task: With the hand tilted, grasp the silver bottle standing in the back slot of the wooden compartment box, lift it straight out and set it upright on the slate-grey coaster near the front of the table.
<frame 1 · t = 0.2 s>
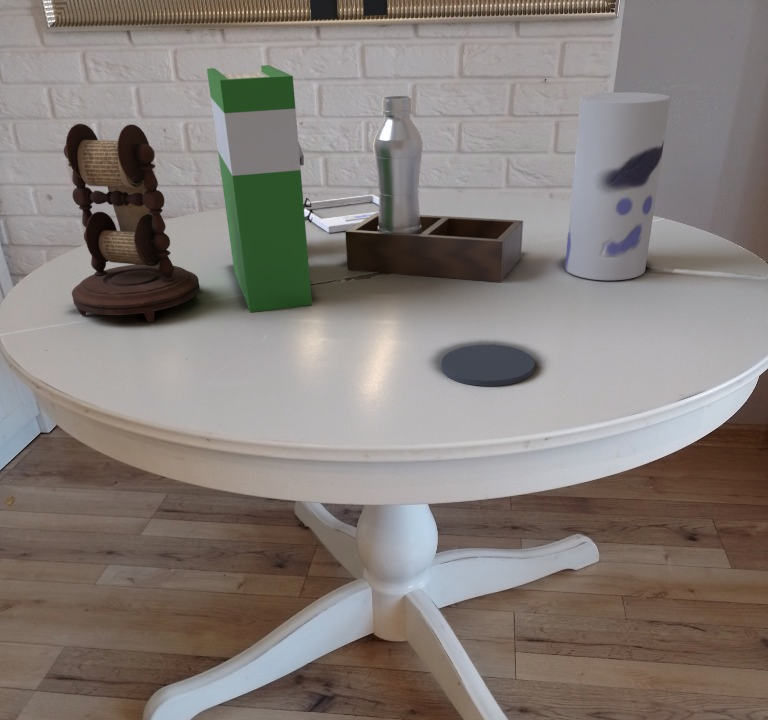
hand: (351, 17, 86), 29 cm above the table, tool pointing down, fingers open, 13 cm apart
wooden compartment box: (434, 264, 107), on the table
silver bottle: (400, 262, 109), resting in wooden compartment box
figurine: (277, 253, 115), on the table
scroll: (140, 307, 96), on the table
photo frame: (352, 216, 132), on the table
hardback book: (270, 288, 101), on the table
container: (604, 271, 102), on the table
coaster: (487, 367, 77), on the table
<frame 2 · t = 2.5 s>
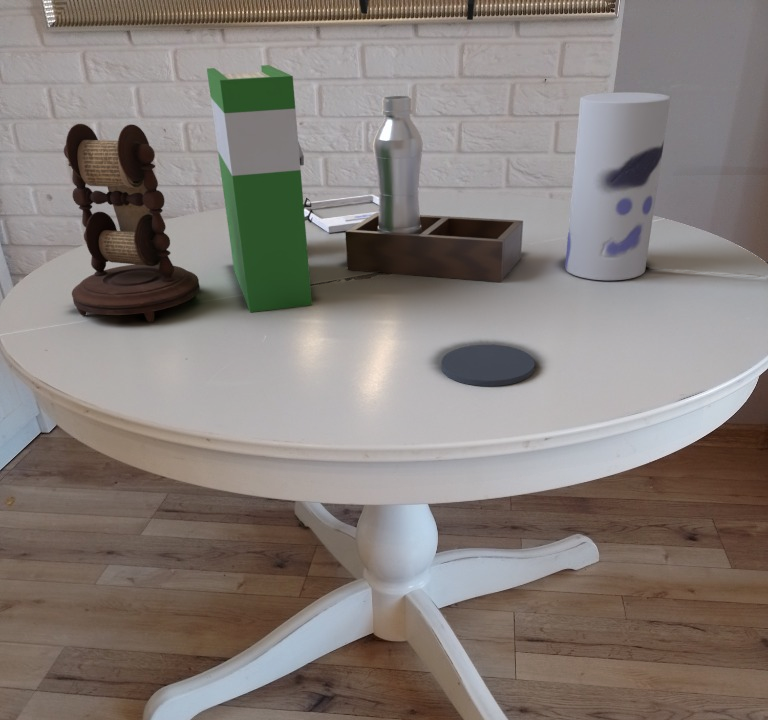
hand: (416, 9, 100), 29 cm above the table, tool tilted 40°, fingers open, 13 cm apart
nothing on the table moved.
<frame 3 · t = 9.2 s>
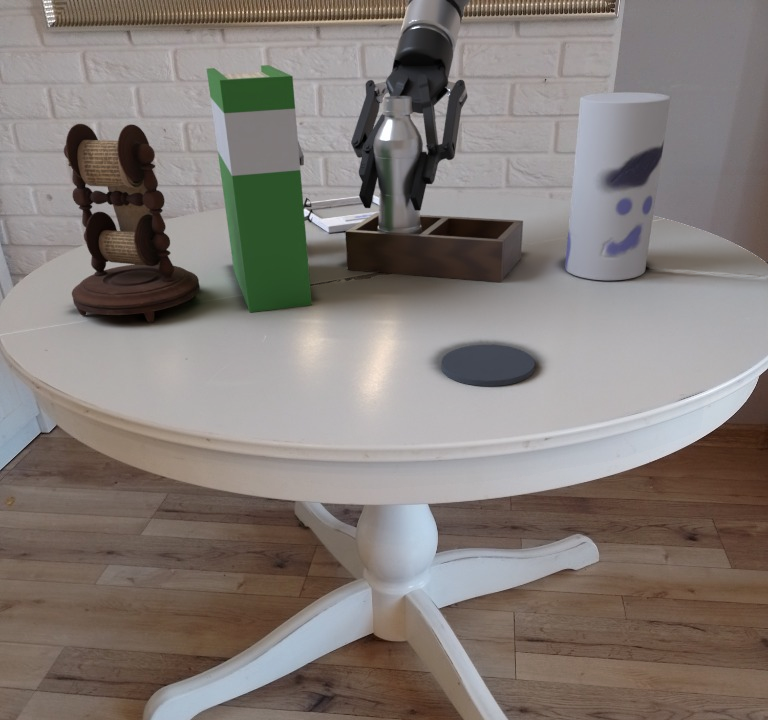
hand: (389, 202, 101), 8 cm above the table, tool tilted 45°, fingers closed on silver bottle, 6 cm apart
silver bottle: (400, 262, 109), resting in wooden compartment box, touching gripper
everything else where it was.
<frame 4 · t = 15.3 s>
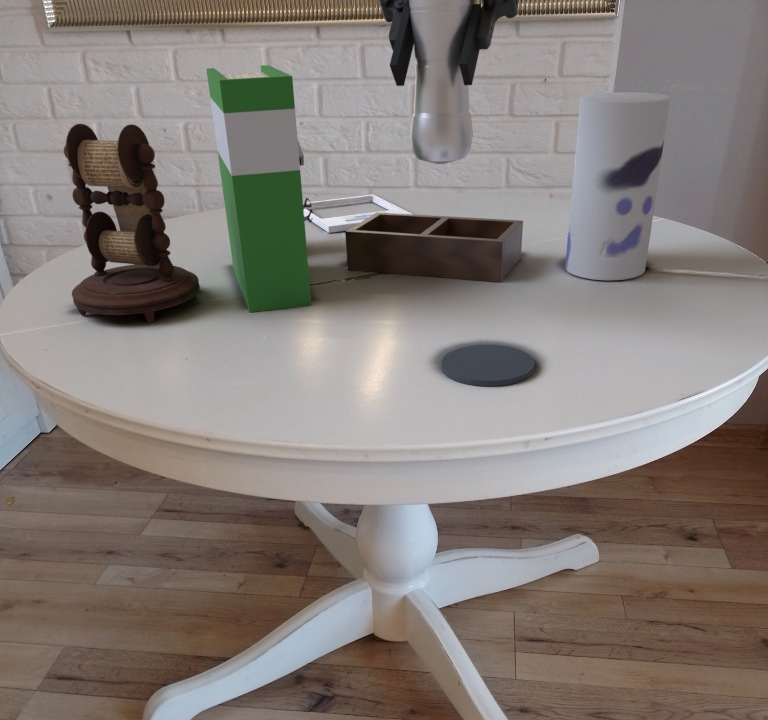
hand: (430, 74, 76), 24 cm above the table, tool tilted 45°, fingers closed on silver bottle, 6 cm apart
silver bottle: (441, 164, 83), point 16 cm above the table, touching gripper
everything else where it was.
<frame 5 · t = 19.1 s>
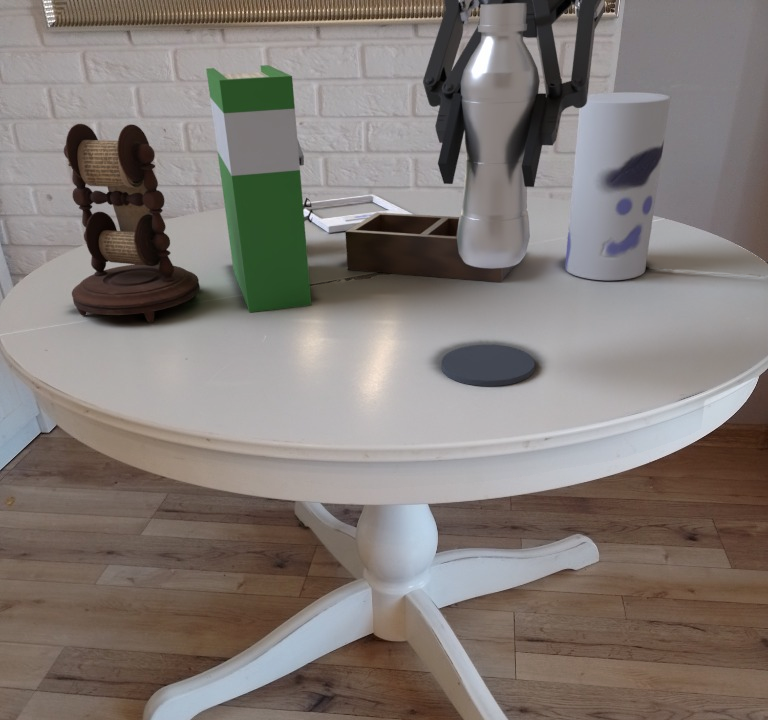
hand: (486, 174, 64), 18 cm above the table, tool tilted 45°, fingers closed on silver bottle, 6 cm apart
silver bottle: (491, 268, 72), point 10 cm above the table, touching gripper
everything else where it was.
when the fingers open (9 cm above the table, at t = 21.9 s): silver bottle stays where it is, resting on coaster.
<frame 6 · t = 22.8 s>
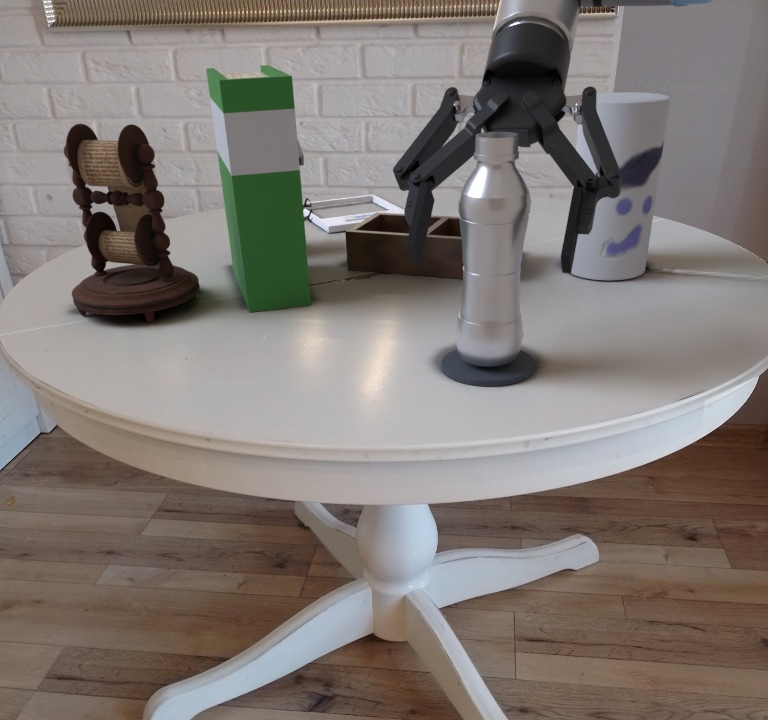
hand: (487, 260, 69), 11 cm above the table, tool tilted 45°, fingers open, 13 cm apart
silver bottle: (487, 363, 77), resting on coaster
everything else where it was.
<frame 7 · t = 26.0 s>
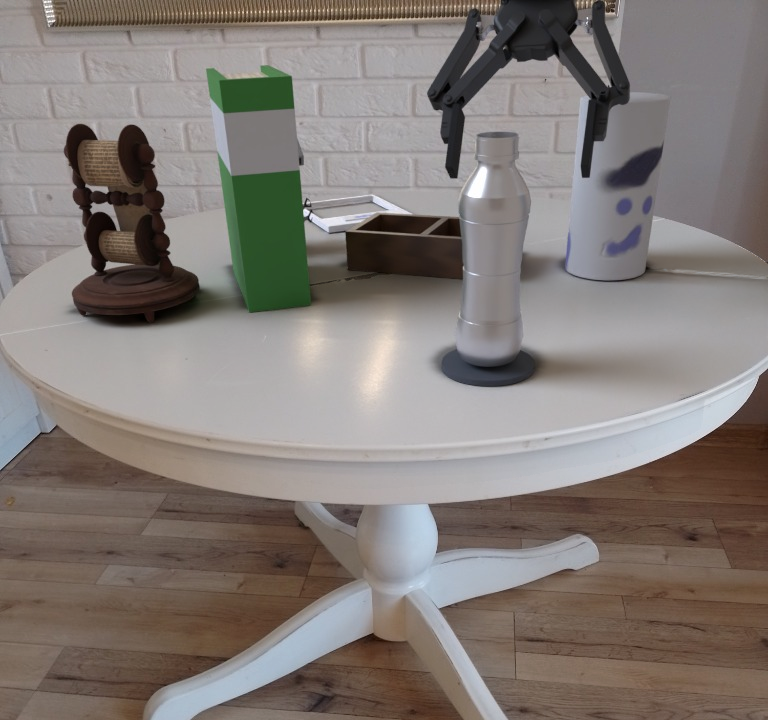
hand: (516, 172, 80), 15 cm above the table, tool tilted 35°, fingers open, 13 cm apart
nothing on the table moved.
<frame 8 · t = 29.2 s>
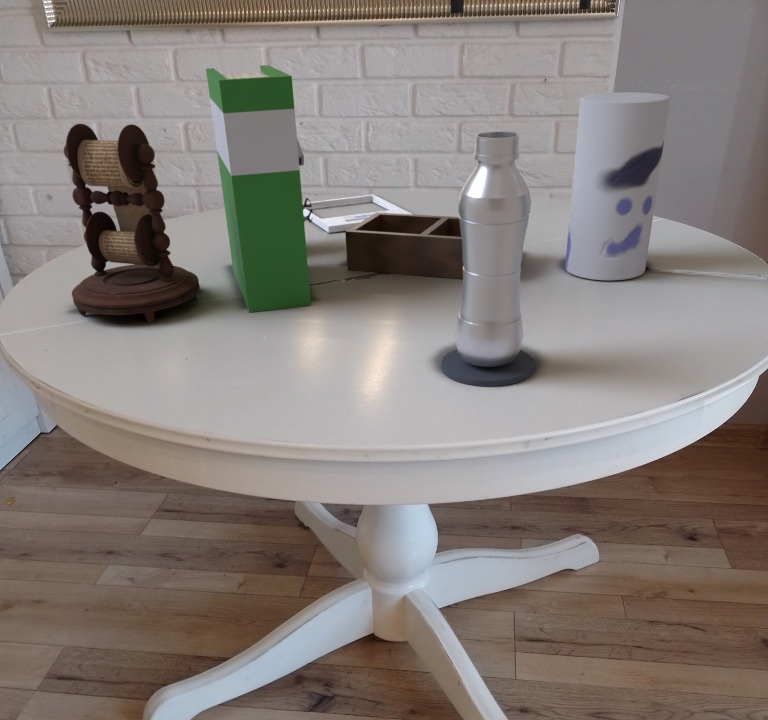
hand: (519, 11, 84), 29 cm above the table, tool pointing down, fingers open, 13 cm apart
nothing on the table moved.
at the end: silver bottle 0.0 cm off-centre on the coaster, point 0.4 cm above the coaster's base; silver bottle tilted 0°; the gripper is holding nothing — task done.
